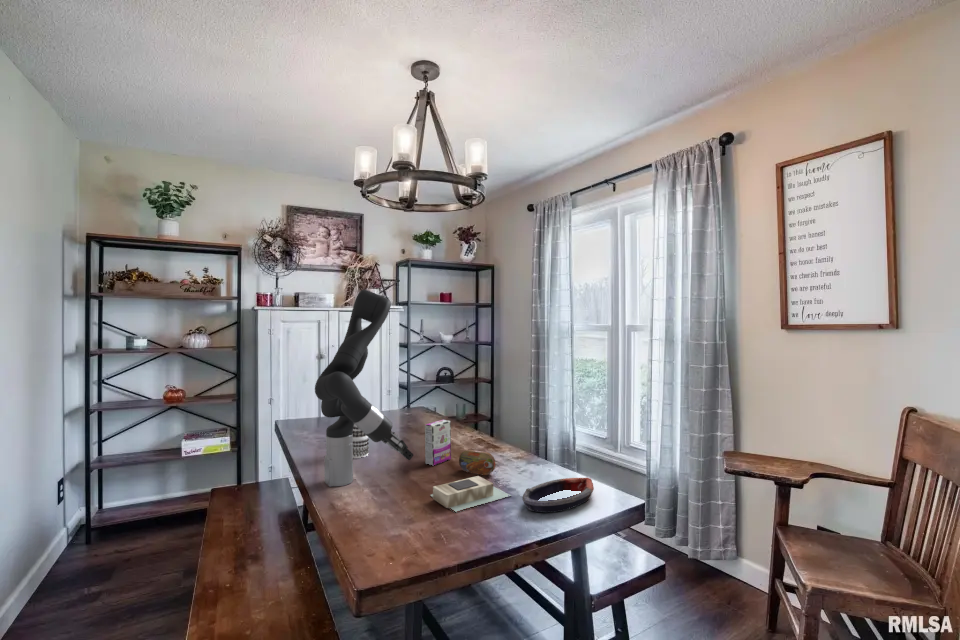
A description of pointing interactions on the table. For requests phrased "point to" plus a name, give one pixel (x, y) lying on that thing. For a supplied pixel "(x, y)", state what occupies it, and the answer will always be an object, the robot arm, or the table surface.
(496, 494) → the rubber mat
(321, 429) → the table surface
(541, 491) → the dark oval ring
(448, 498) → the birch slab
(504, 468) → the table surface
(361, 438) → the decorative candle
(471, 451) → the tin
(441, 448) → the candy bar box
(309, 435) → the table surface
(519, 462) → the table surface
